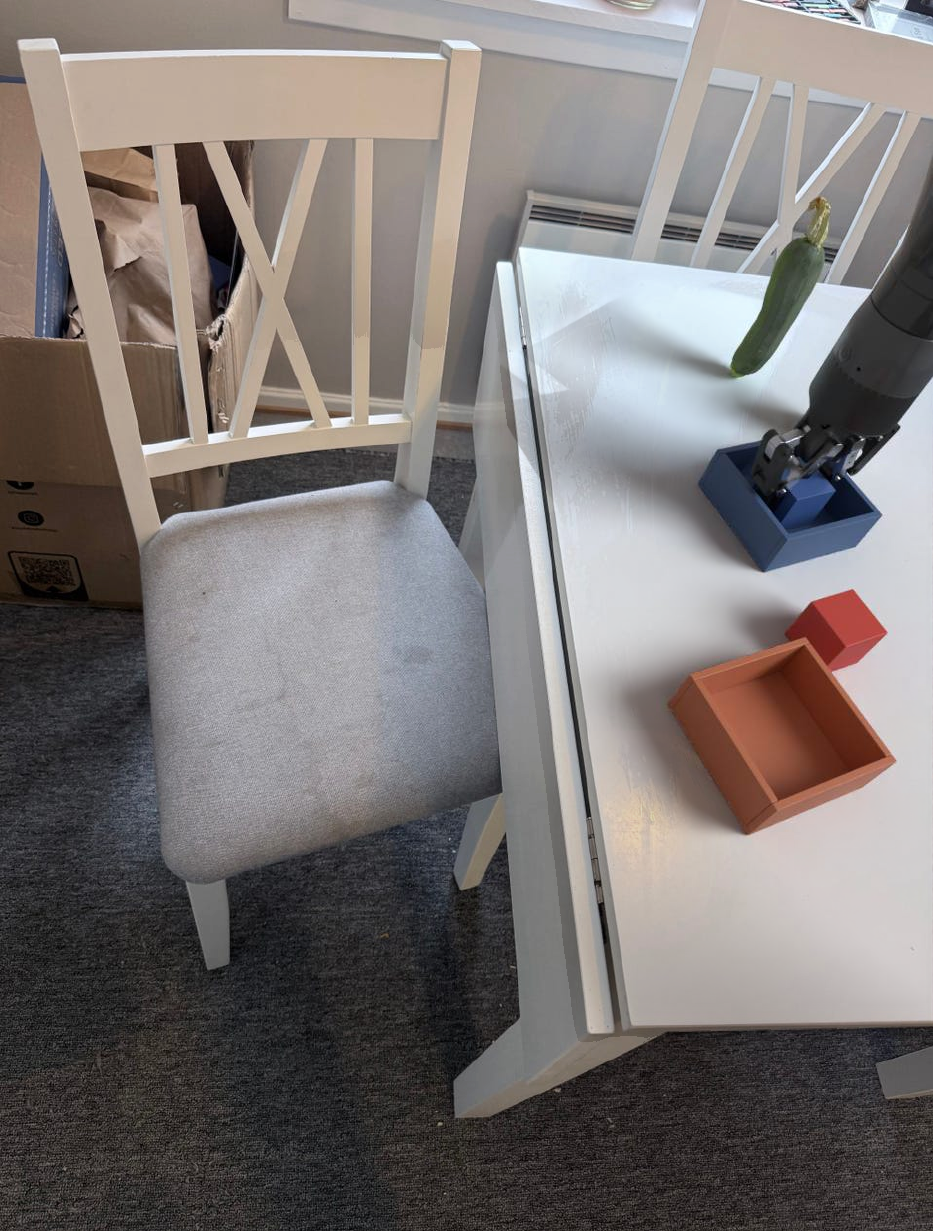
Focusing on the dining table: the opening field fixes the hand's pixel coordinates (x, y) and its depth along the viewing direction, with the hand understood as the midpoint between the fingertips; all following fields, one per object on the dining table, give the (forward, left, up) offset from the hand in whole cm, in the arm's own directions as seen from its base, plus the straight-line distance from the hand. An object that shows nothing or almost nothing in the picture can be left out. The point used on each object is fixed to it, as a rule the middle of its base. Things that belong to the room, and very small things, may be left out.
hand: (780, 508), depth 79 cm
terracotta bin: (-20, +16, -1) cm, 26 cm away
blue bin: (0, 0, -1) cm, 1 cm away
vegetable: (+18, -8, -1) cm, 20 cm away
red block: (-14, +6, -1) cm, 15 cm away
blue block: (0, 0, 0) cm, 0 cm away
